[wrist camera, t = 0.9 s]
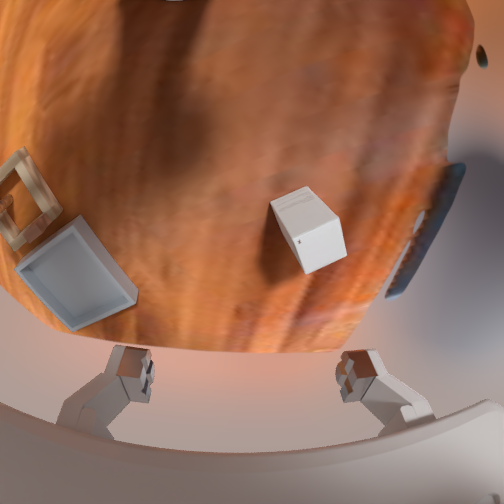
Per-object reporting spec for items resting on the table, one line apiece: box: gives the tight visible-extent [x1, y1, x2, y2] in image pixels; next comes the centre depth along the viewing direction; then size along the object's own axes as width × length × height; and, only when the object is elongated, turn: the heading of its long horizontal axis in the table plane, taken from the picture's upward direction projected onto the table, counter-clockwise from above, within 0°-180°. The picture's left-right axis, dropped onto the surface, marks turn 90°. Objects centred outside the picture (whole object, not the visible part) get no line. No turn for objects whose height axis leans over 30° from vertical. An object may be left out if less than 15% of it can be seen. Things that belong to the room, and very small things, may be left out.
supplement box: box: [270, 186, 347, 274], centre depth 45 cm, size 7×7×13 cm
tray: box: [14, 214, 139, 332], centre depth 48 cm, size 19×19×4 cm
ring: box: [0, 146, 63, 252], centre depth 36 cm, size 14×14×7 cm
